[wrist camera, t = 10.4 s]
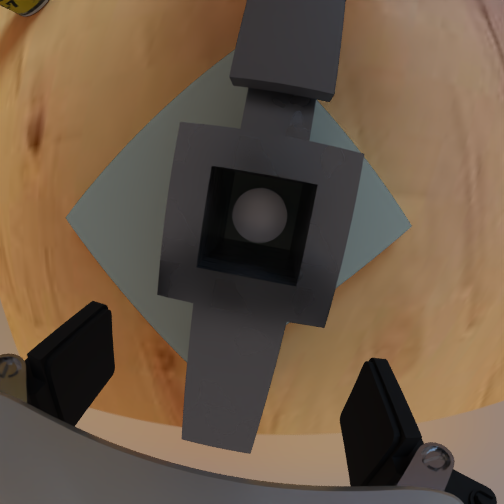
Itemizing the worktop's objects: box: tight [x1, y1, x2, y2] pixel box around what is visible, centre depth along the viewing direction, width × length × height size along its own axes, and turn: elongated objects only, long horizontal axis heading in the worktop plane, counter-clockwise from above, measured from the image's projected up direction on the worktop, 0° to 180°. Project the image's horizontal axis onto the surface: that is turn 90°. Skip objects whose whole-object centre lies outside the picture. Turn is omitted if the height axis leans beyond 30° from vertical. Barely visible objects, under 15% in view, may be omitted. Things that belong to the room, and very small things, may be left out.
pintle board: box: [66, 0, 412, 362], centre depth 14 cm, size 20×15×6 cm
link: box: [157, 88, 364, 453], centre depth 14 cm, size 18×6×6 cm, turn 170°
